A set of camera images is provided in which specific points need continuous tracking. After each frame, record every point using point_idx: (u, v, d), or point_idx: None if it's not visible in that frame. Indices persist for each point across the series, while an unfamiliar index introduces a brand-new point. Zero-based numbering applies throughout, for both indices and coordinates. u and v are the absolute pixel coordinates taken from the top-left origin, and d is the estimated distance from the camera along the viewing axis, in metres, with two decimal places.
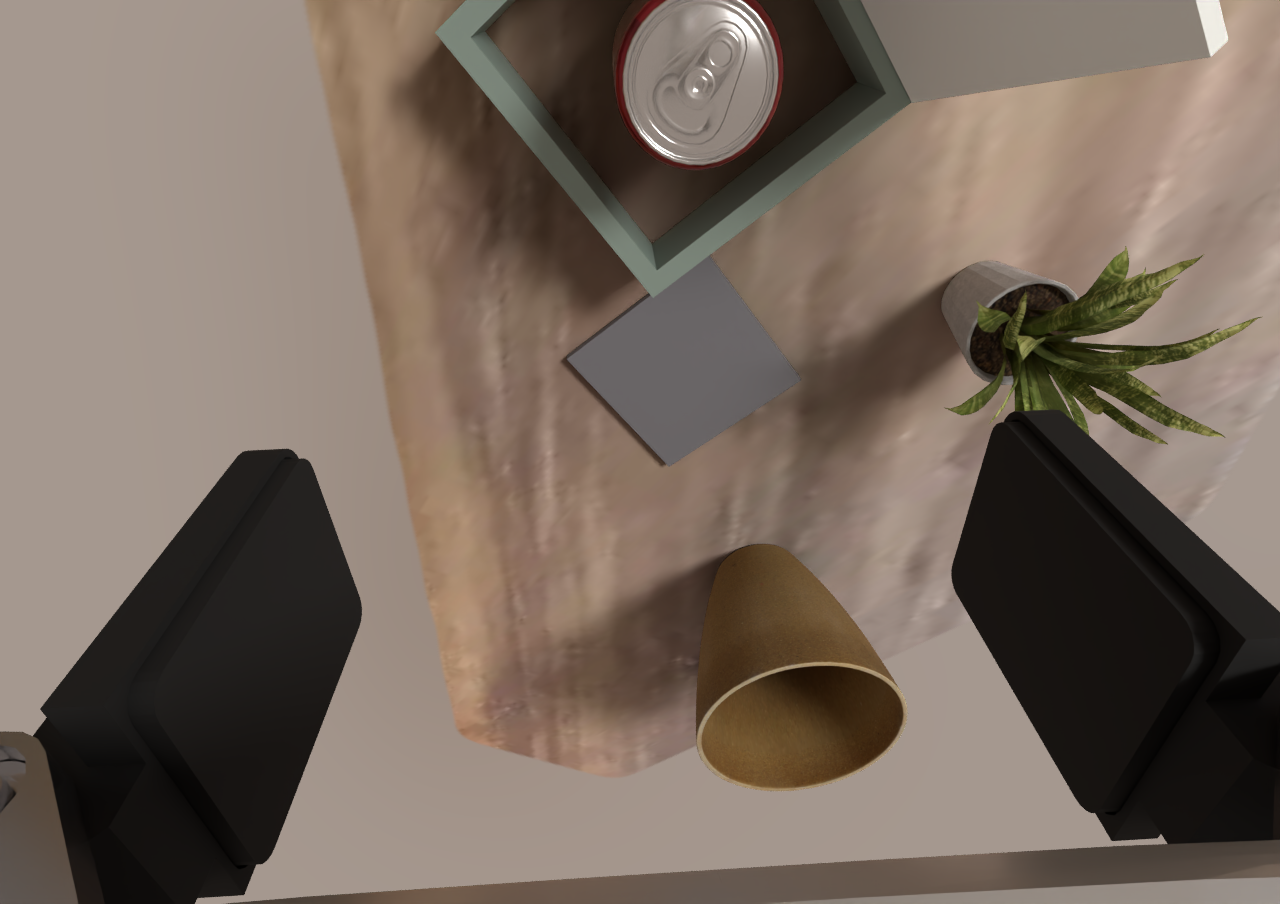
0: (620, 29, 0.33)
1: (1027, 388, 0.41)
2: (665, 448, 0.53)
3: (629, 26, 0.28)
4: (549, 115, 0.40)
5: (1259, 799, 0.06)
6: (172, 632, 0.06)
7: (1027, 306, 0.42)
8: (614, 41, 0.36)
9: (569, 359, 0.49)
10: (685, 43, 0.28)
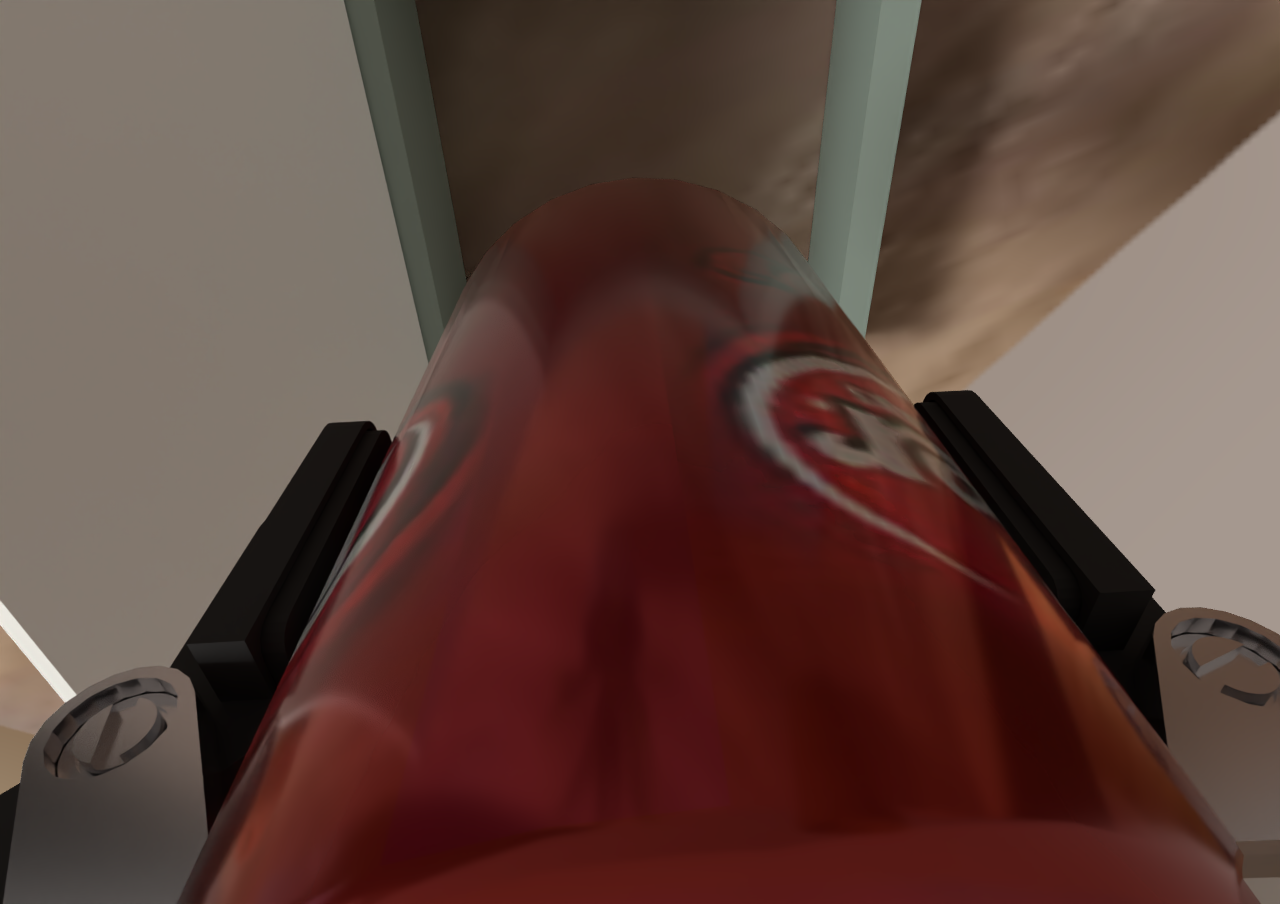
0: None
1: None
2: None
3: None
4: (817, 201, 0.28)
5: None
6: (292, 580, 0.07)
7: None
8: None
9: None
10: None
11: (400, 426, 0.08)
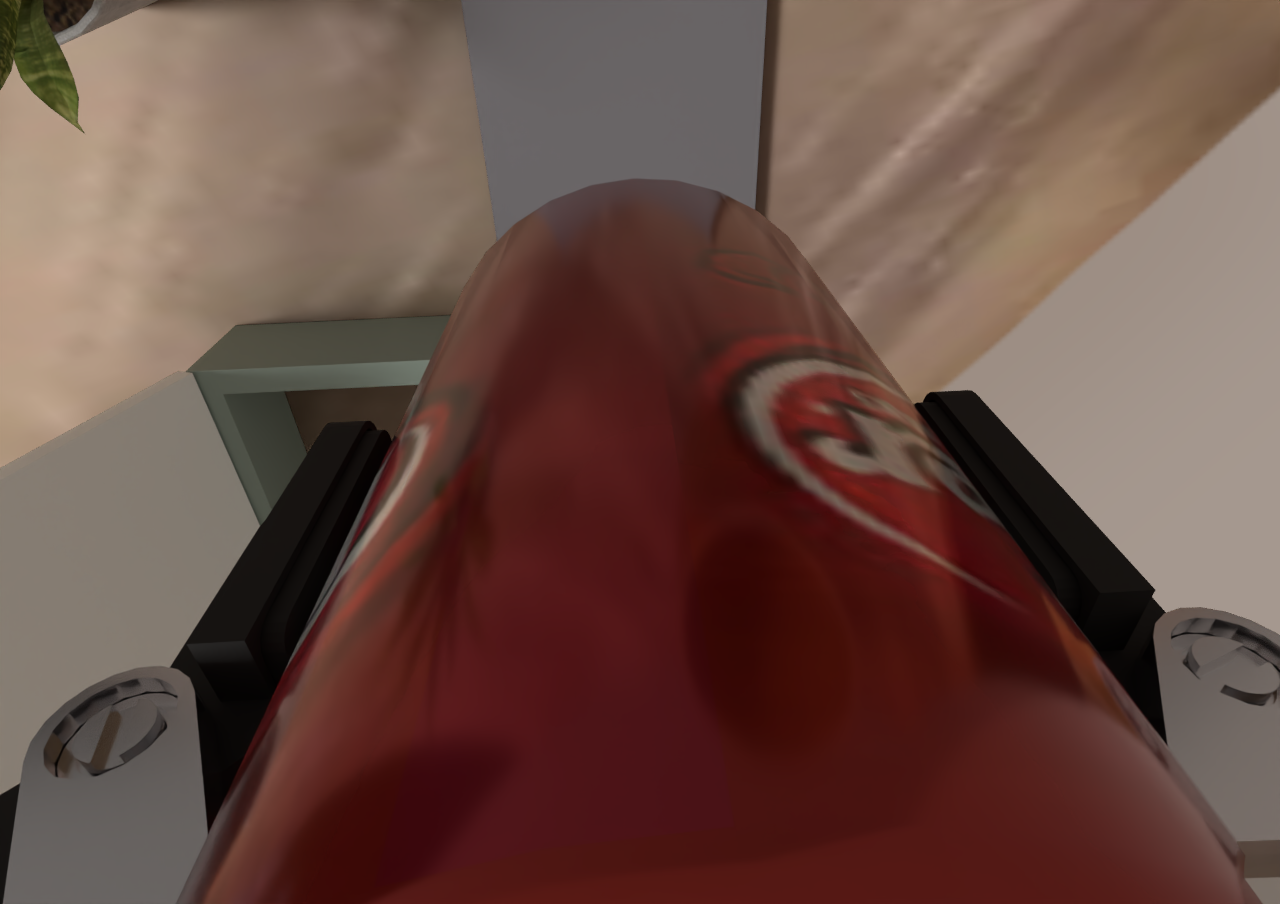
0: None
1: None
2: (744, 31, 0.28)
3: None
4: None
5: None
6: (292, 580, 0.07)
7: None
8: None
9: None
10: None
11: (398, 429, 0.08)
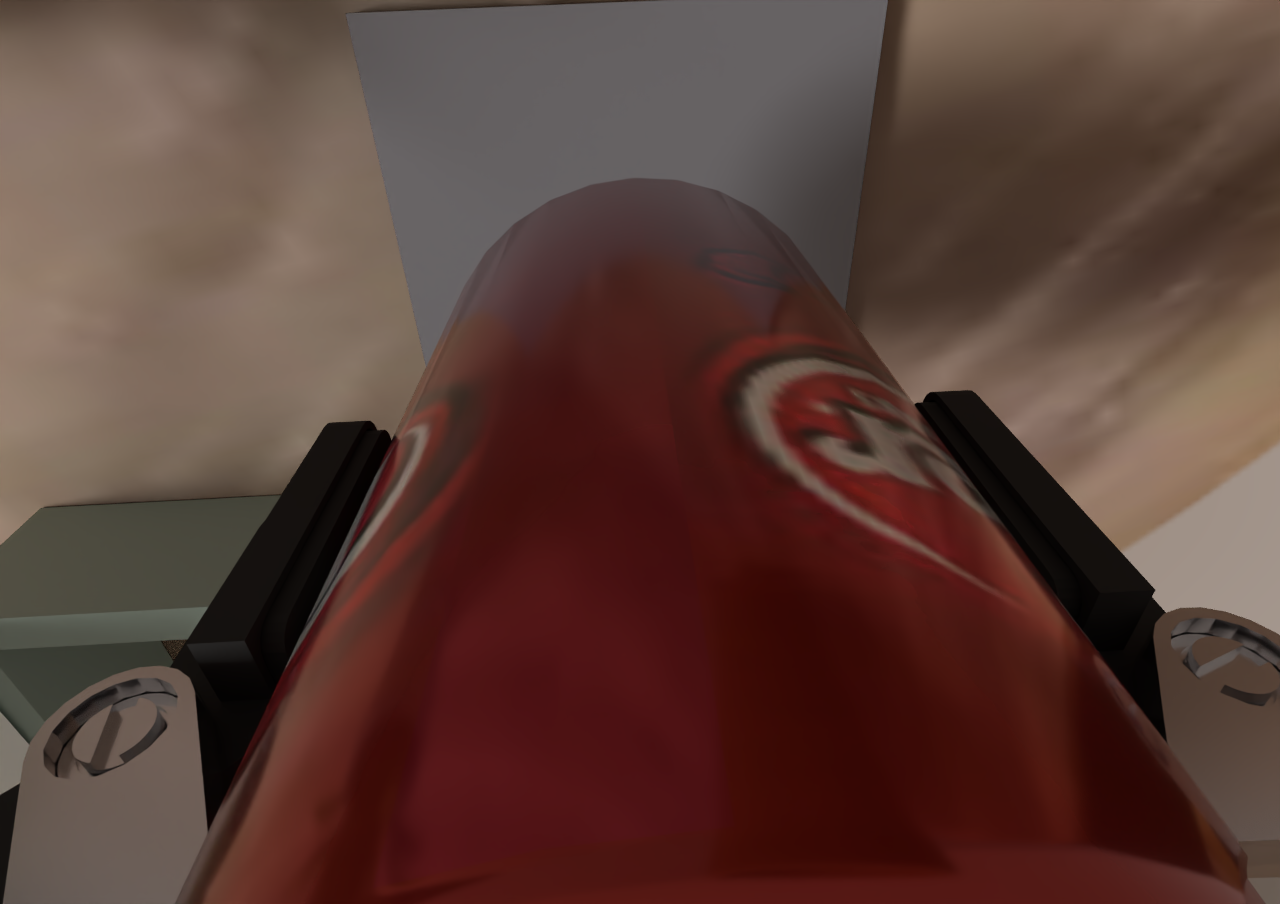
0: None
1: None
2: (841, 72, 0.16)
3: None
4: None
5: None
6: (292, 580, 0.07)
7: None
8: None
9: None
10: None
11: (398, 429, 0.08)
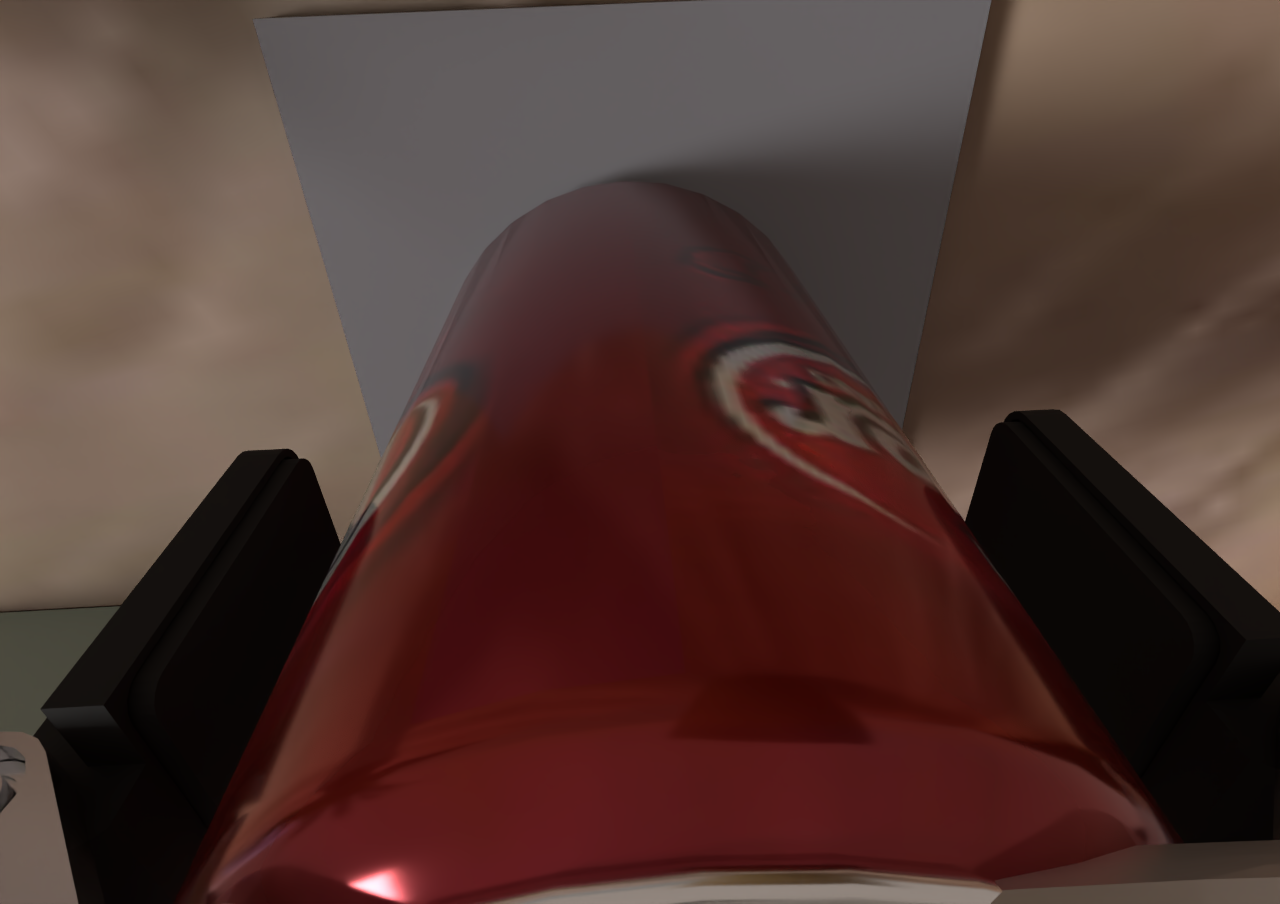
0: None
1: None
2: (923, 96, 0.12)
3: None
4: None
5: (1259, 799, 0.06)
6: (171, 632, 0.06)
7: None
8: None
9: None
10: None
11: (406, 406, 0.09)
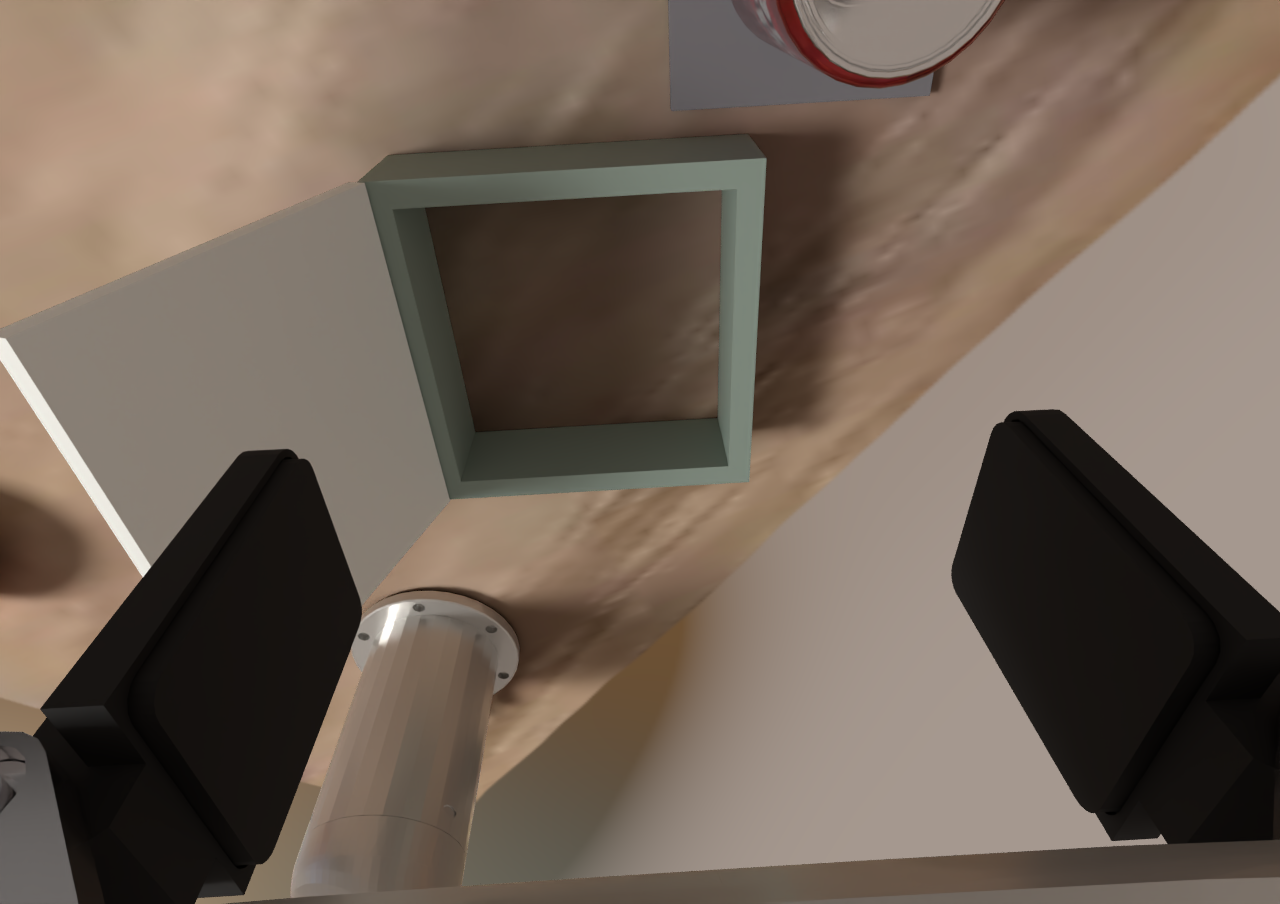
0: None
1: None
2: None
3: (916, 79, 0.22)
4: (720, 344, 0.39)
5: (1259, 799, 0.06)
6: (173, 632, 0.06)
7: None
8: None
9: (927, 92, 0.32)
10: (886, 10, 0.20)
11: None
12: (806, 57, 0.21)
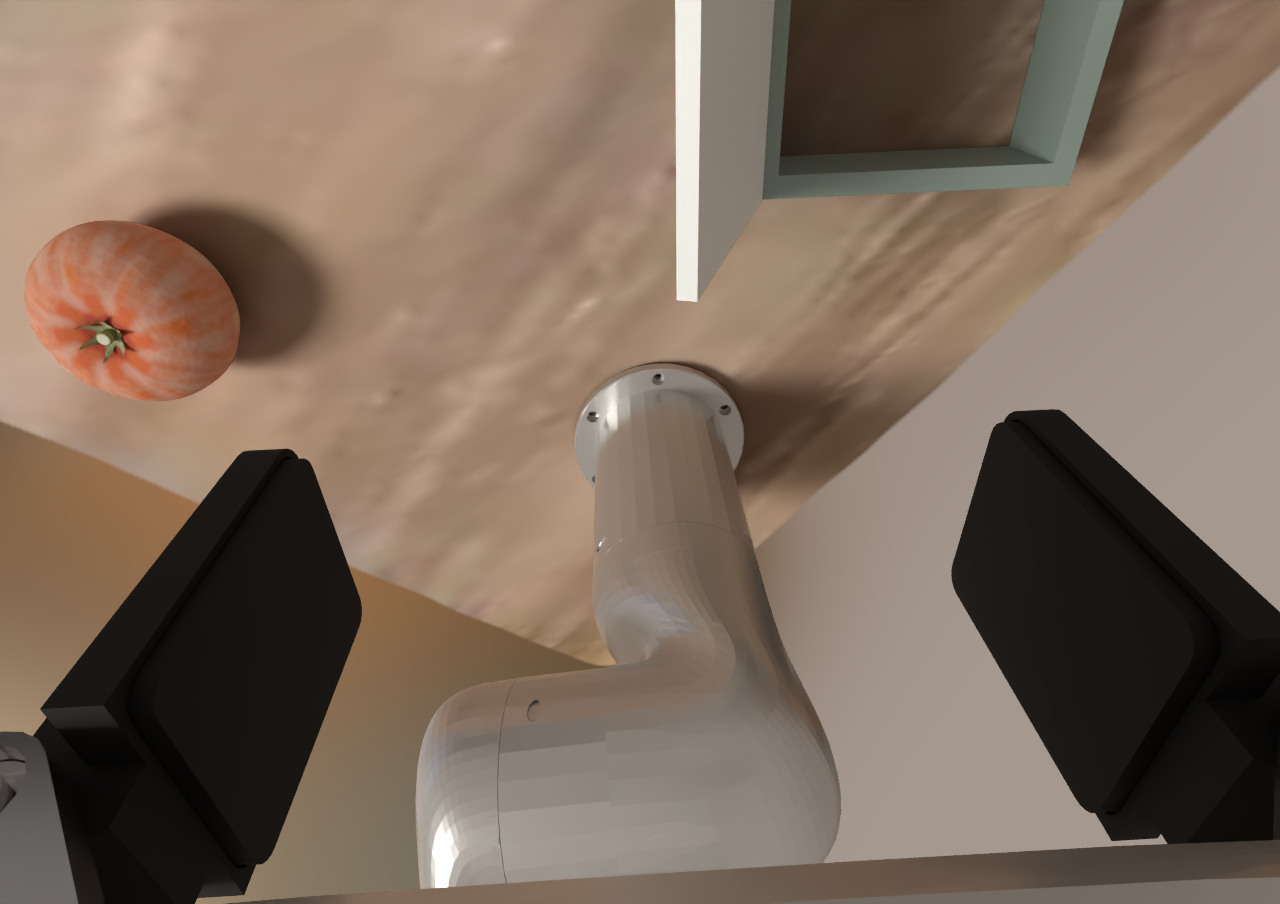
0: None
1: None
2: None
3: None
4: (1038, 45, 0.38)
5: (1259, 799, 0.06)
6: (172, 632, 0.06)
7: None
8: None
9: None
10: None
11: None
12: None
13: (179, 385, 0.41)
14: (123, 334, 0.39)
